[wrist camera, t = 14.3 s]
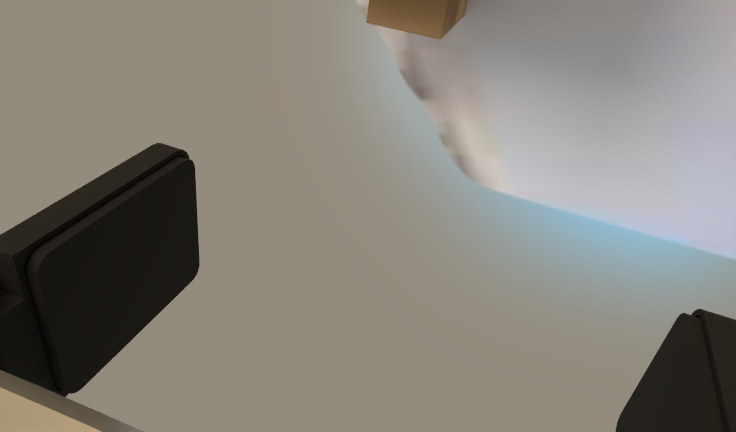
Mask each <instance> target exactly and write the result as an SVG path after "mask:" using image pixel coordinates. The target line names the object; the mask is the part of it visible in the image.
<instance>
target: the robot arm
mask: <svg viewBox="0 0 736 432" xmlns="http://www.w3.org/2000/svg"><path fill="white" fill-rule="evenodd" d="M196 203H197V202H196V182H195V166H194V163H193V161H191V160H190V159H189V156H188V154H187V152H185V151H184V150H181V149H178V148H174V147H171V146H168V145H165V144H162V143H157V144H154V145H152V146H150V147H148V148H147V149H145V150H143V151H142V152H140V153H138V154H137V155H135V156H133V157H131V158H130V159H128V160H126V161H125V162H123V163H121V164H120V165H118V166H116V167H115V168H113V169H111V170H109V171H108V172H106V173H104V174H103V175H101V176H100V177H98V178H96V179H94V180H93V181H91V182H90V183H88V184H86V185H84V186H82V187H81V188H79V189H77V190H76V191H74V192H72V193H71V194H69V195H67V196H65V197H64V198H62V199H61V200H59V201H57V202H55V203H54V204H52V205H50V206H49V207H47V208H45V209H43V210H42V211H40V212H38V213H37V214H35V215H33V216H32V217H30V218H28V219H27V220H25V221H23V222H22V223H20V224H18V225H16V226H15V227H13V228H12V229H10V230H8V231H6V232H5V233H3V234H1V235H0V432H143V431H141V430H139V429H136V428H134V427H132V426H129V425H127V424H125V423H123V422H120V421H118V420H116V419H114V418H111V417H109V416H107V415H104V414H102V413H100V412H97V411H95V410H93V409H90V408H88V407H86V406H84V405H81V404H79V403H77V402H74V401H72V400H70V399H67V398H65V397H66V396H67V395H68V394H69V393H75V392H77V391H79V390H80V389H82V388H83V387H84V386H85V385H86V384H87V383H88V382H89V381H90V380H91V379H92V378H93V377H94V376H95V375H96V374H97V373H98V372H99V371H100V370H101V369H102V368H103V367H104V366H105V365H106V364H107V363H108V362H109V361H110V360H111V359H112V358H113V357H114V356H116V355H117V353H119V352H120V351H121V350H122V349H123V348H124V347H125V346H126V345H127V344H128V343H129V342H130V341H131V340H132V339H133V338H134V337H135V336H136V335H137V334H138V333H139V332H140V331H141V330H142V329H143V328H144V327H145V326H146V325H147V324H148V323H149V322H150V321H151V320H152V319H153V318H154V317H155V316H156V315H158V314H159V313H160V312H161V311H162V310H163V309H164V308H165V307H166V306H167V305H168V304H169V303H170V302H171V301H172V300H173V299H174V298H175V297H176V296H177V295H178V294H179V293H180V292H181V291H182V290H183V289H184V288H185V287H186V286H187V285H188V284H189V283H190V282H191V281H192V280H193V279H194V278H195V276H196V274H197V272H198V269H199V244H198V224H197V204H196ZM616 432H736V320H734V319H731V318H728V317H725V316H721V315H718V314H715V313H712V312H708V311H705V310H702V309H697V310H696V311H694V312H693V313H692V315H689V314H685V313H682V314H681V315H679V317H678V318H677V319H676V321H675V323H674V325H673V326H672V328H671V330H670V331H669V333H668V335H667V337H666V338H665V340H664V341H663V343H662V345H661V347H660V349H659V350H658V352H657V353H656V355H655V357H654V358H653V360H652V362H651V363H650V365H649V367H648V369H647V370H646V372H645V374H644V376H643V377H642V379H641V381H640V382H639V384H638V386H637V387H636V389H635V391H634V392H633V394H632V396H631V397H630V399H629V401H628V403H627V404H626V406H625V407H624V409H623V411H622V413H621V415H620V417H619V420H618V423H617V428H616Z"/></svg>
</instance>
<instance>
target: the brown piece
mask: <svg viewBox="0 0 736 432" xmlns="http://www.w3.org/2000/svg"><path fill="white" fill-rule="evenodd" d="M466 5H467V0H369V7H368V15H367V23H370V24H374V25H379V26H383V27H388V28H392V29H397V30H401V31H406V32H410V33H415V34H419V35H424V36H428V37H432V38H437V39H441V38H442V37H443V36H444V35H445V34H446V33H447V32H448V31H449V30H450V29H451V28H452V27H453V26H454V25H455V24H456V23H457V22H458V21H459V20H460V19H461V18H462V17H463V16H464V14H465V9H466Z"/></svg>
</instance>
